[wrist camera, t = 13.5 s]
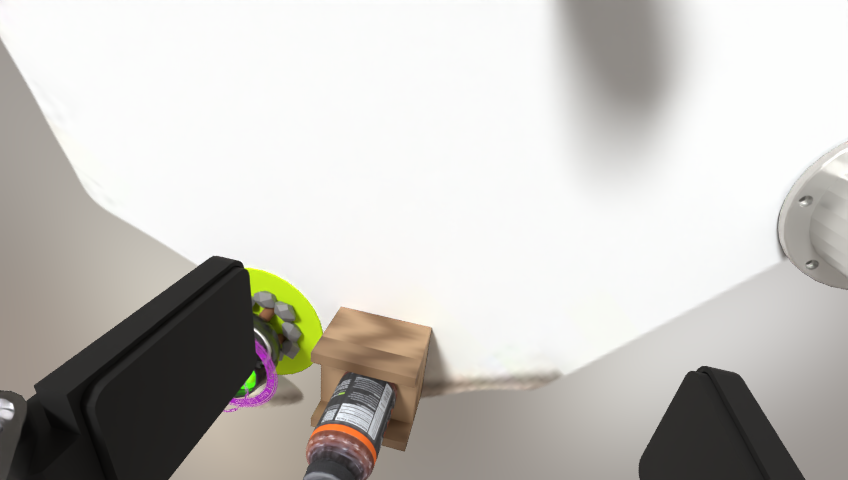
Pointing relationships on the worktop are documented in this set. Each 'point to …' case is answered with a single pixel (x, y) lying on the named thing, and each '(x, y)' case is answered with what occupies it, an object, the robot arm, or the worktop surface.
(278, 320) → the toy cauldron
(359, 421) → the supplement bottle
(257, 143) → the worktop surface
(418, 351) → the pedestal
